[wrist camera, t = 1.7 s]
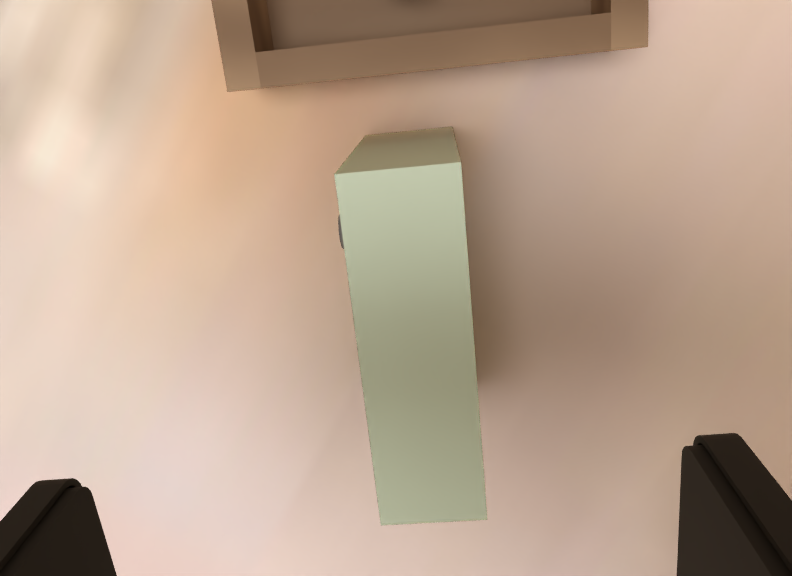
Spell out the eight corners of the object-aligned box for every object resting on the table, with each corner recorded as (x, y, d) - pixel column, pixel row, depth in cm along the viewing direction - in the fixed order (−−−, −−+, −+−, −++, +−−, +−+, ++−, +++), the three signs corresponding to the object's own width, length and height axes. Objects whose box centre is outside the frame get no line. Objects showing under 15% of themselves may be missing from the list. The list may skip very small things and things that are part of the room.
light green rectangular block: (472, 387, 27) (487, 519, 19) (385, 393, 27) (367, 526, 20) (451, 126, 24) (460, 161, 16) (354, 136, 24) (317, 176, 16)
